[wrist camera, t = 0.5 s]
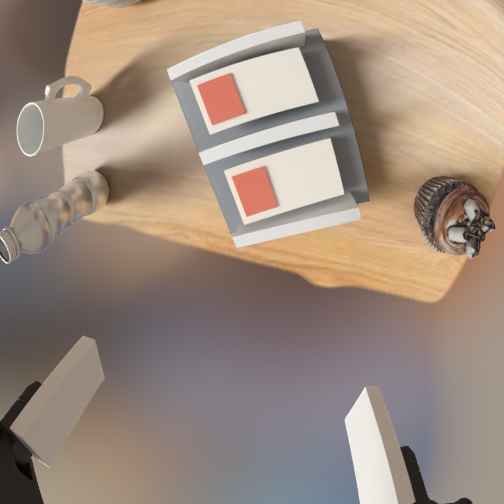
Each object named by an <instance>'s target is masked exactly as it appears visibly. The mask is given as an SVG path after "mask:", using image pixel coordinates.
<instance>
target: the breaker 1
mask: <svg viewBox="0 0 504 504" xmlns="http://www.w3.org/2000/svg"><path fill="white" fill-rule="evenodd" d="M190 84H191V87H192V89H193V92H194V95H195V97H196V100H197V102H198V105H199V108H200V110H201V113H202V115H203V118H204V121H205V123H206V126H207V129H208V131H209V134H210V135H212V134H214V133H217V132H220V131H223V130H225V129H228V128H231V127H234V126H237V125H240V124H243V123H246V122H249V121H252V120H255V119H258V118H261V117H264V116H268V115H271V114H275V113H278V112H282V111H285V110H289V109H293V108H296V107H300V106H304V105H308V104H312V103H316V102H319V100H318V97H317V95H316V92H315V89H314V86H313V83H312V80H311V78H310V75H309V72H308V70H307V67H306V64H305V62H304V59H303V57H302V54H301V52H300V49H299V47H297V48H293V49H288V50H283V51H279V52H275V53H271V54H267V55H263V56H259V57H256V58H252V59H249V60H246V61H242V62H239V63H236V64H233V65H230V66H227V67H224V68H221V69H218V70H215V71H213V72H210V73H207V74H205V75H202V76H200V77H197V78H195V79H192V80H190Z"/></svg>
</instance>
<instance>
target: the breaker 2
mask: <svg viewBox="0 0 504 504" xmlns="http://www.w3.org/2000/svg"><path fill="white" fill-rule="evenodd" d="M224 173H225V176H226V178H227V181H228V184H229V186H230V189H231V192H232V194H233V197H234V199H235V202H236V205H237V207H238V210H239V213H240V215H241V218H242V221H243V223H244V225H246V224H249V223H252V222H255V221H258V220H261V219H264V218H268V217H271V216H274V215H277V214H280V213H283V212H287V211H290V210H293V209H296V208H300V207H303V206H306V205H310V204H313V203H316V202H320V201H323V200H326V199H330V198H333V197H337V196H340V195H343V194H344V190H343V186H342V181H341V177H340V173H339V169H338V165H337V161H336V157H335V154H334V150H333V146H332V143H331V139H330V138H327V137H325V138H321V139H318V140H314V141H310V142H306V143H303V144H299V145H296V146H292V147H289V148H285V149H282V150H279V151H275V152H272V153H269V154H266V155H263V156H259V157H256V158H253V159H250V160H247V161H244V162H241V163H238V164H236V165H233V166H230V167H227V168H225V169H224Z"/></svg>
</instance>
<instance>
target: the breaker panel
mask: <svg viewBox="0 0 504 504" xmlns="http://www.w3.org/2000/svg"><path fill="white" fill-rule="evenodd" d="M297 47H299V49H300V52H301V54H302V57H303V59H304V62H305V64H306V67H307V70H308V72H309V75H310V78H311V80H312V83H313V86H314V89H315V92H316V95H317V97H318V100H319V102H316V103H312V104H308V105H304V106H300V107H296V108H293V109H289V110H285V111H282V112H278V113H275V114H271V115H268V116H264V117H261V118H258V119H255V120H252V121H249V122H246V123H243V124H240V125H237V126H234V127H231V128H228V129H225V130H223V131H220V132H217V133H214V134H212V135H210V134H209V131H208V129H207V126H206V123H205V121H204V118H203V115H202V113H201V110H200V108H199V105H198V102H197V100H196V97H195V95H194V92H193V89H192V87H191V84H190V80H192V79H195V78H197V77H200V76H202V75H205V74H207V73H210V72H213V71H215V70H218V69H221V68H224V67H227V66H230V65H233V64H236V63H239V62H242V61H246V60H249V59H252V58H256V57H259V56H263V55H267V54H271V53H275V52H279V51H283V50H288V49H293V48H297ZM167 72H168V75H169V77H170V80H171V82H172V85H173V87H174V90H175V93H176V95H177V98H178V100H179V103H180V106H181V108H182V111H183V113H184V116H185V119H186V121H187V124H188V126H189V129H190V132H191V134H192V137H193V139H194V142H195V144H196V147H197V150H198V152H199V155H200V158H201V160H202V163H203V165H204V167H205V170H206V173H207V175H208V178H209V180H210V183H211V185H212V188H213V190H214V193H215V195H216V198H217V200H218V203H219V205H220V208H221V210H222V213H223V215H224V218H225V220H226V223H227V225H228V228H229V230H230V233H231V234H232V233H234V234H233V236H232V238H233V241H234V243H235V245H236V248H239V247H243V246H247V245H252V244H256V243H260V242H265V241H269V240H273V239H278V238H282V237H286V236H291V235H295V234H299V233H304V232H308V231H313V230H317V229H321V228H326V227H330V226H335V225H339V224H344V223H348V222H353V221H357V220H361V217H360V212H359V207H358V205H357V204H358V203H363V202H367V201H370V200H369V194H368V189H367V184H366V179H365V174H364V169H363V165H362V160H361V156H360V152H359V148H358V144H357V140H356V136H355V132H354V128H353V125H352V121H351V118H350V114H349V111H348V108H347V104H346V101H345V98H344V95H343V92H342V89H341V86H340V83H339V80H338V77H337V74H336V72H335V69H334V66H333V63H332V61H331V58H330V56H329V53H328V51H327V48H326V46H325V43H324V41H323V38H322V36H321V34H320V31H319V29H313V30H308V31H305V30H304V27H303V25H302V23H301V21H296V22H292V23H288V24H284V25H280V26H276V27H272V28H269V29H265V30H262V31H259V32H255V33H252V34H249V35H246V36H243V37H240V38H238V39H235V40H232V41H229V42H227V43H224V44H221V45H219V46H216V47H214V48H212V49H209V50H207V51H204V52H202V53H200V54H198V55H195V56H193V57H191V58H189V59H187V60H185V61H183V62H181V63H179V64H177V65H175V66H173V67H171V68H169V69H167ZM325 137H327V138H330V139H331V143H332V146H333V150H334V154H335V157H336V161H337V165H338V169H339V173H340V177H341V181H342V186H343V190H344V194H343V195H340V196H337V197H333V198H330V199H326V200H323V201H320V202H316V203H313V204H310V205H306V206H303V207H300V208H296V209H293V210H290V211H287V212H283V213H280V214H277V215H274V216H271V217H268V218H264V219H261V220H258V221H255V222H252V223H249V224H246V225H244V223H243V221H242V218H241V215H240V213H239V210H238V207H237V205H236V202H235V199H234V197H233V194H232V192H231V189H230V186H229V184H228V181H227V178H226V176H225V173H224V169H225V168H227V167H230V166H233V165H236V164H238V163H241V162H244V161H247V160H250V159H253V158H256V157H259V156H263V155H266V154H269V153H272V152H275V151H279V150H282V149H285V148H289V147H292V146H296V145H299V144H303V143H306V142H310V141H314V140H318V139H321V138H325Z"/></svg>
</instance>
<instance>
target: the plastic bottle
mask: <svg viewBox="0 0 504 504" xmlns="http://www.w3.org/2000/svg"><path fill="white" fill-rule="evenodd" d="M108 195H109V186H108V182H107V180H106V179H105V177H104V176H103V175H102V174H100V173H99V172H96V171H87V172H83V173H81V174H80V175H78V176H77V177H75V178H74V179H73V180H72V181H71V182H69V183H68V184H66V185H65V186H63V187H61V188H60V189H59V190H56V191H55V192H52V193H50V194H48V195H46V196H43V197H40V198H37V199H35V200H32V201H30V202H27V203H25V204H23V205H22V206H21V207H20V208H19V209H18V210H17V211H16V213H15V215H14V217H13V220H12V222H11V225H10V228H9V227H6V228H4V229H3V231H2V232H0V257H1V258H2V260H3V261H4V262H5V263H7V264H8V263H10V262H12V261H13V260H14V259H16V258H18V257H19V256H20V254H21V252H24V253H38V252H41V251H43V250H44V249H45V248H46V247H47V246H48V245H49V244H50V243H51V242H52V241H53V240H54V239H55V238H56V237H57V236H58V235H59V234H60V233H61V232H62V231H63V230H64V229H66V228H67V227H68V226H69V225H71V224H72V223H73V222H75V221H77V220H79V219H81V218H83V217H84V216H87V215H90V214H93V213H95V212H97V211H99V210H100V209H101V208H102V207H103V206H104V204H105V203H106V202H107V199H108Z"/></svg>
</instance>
